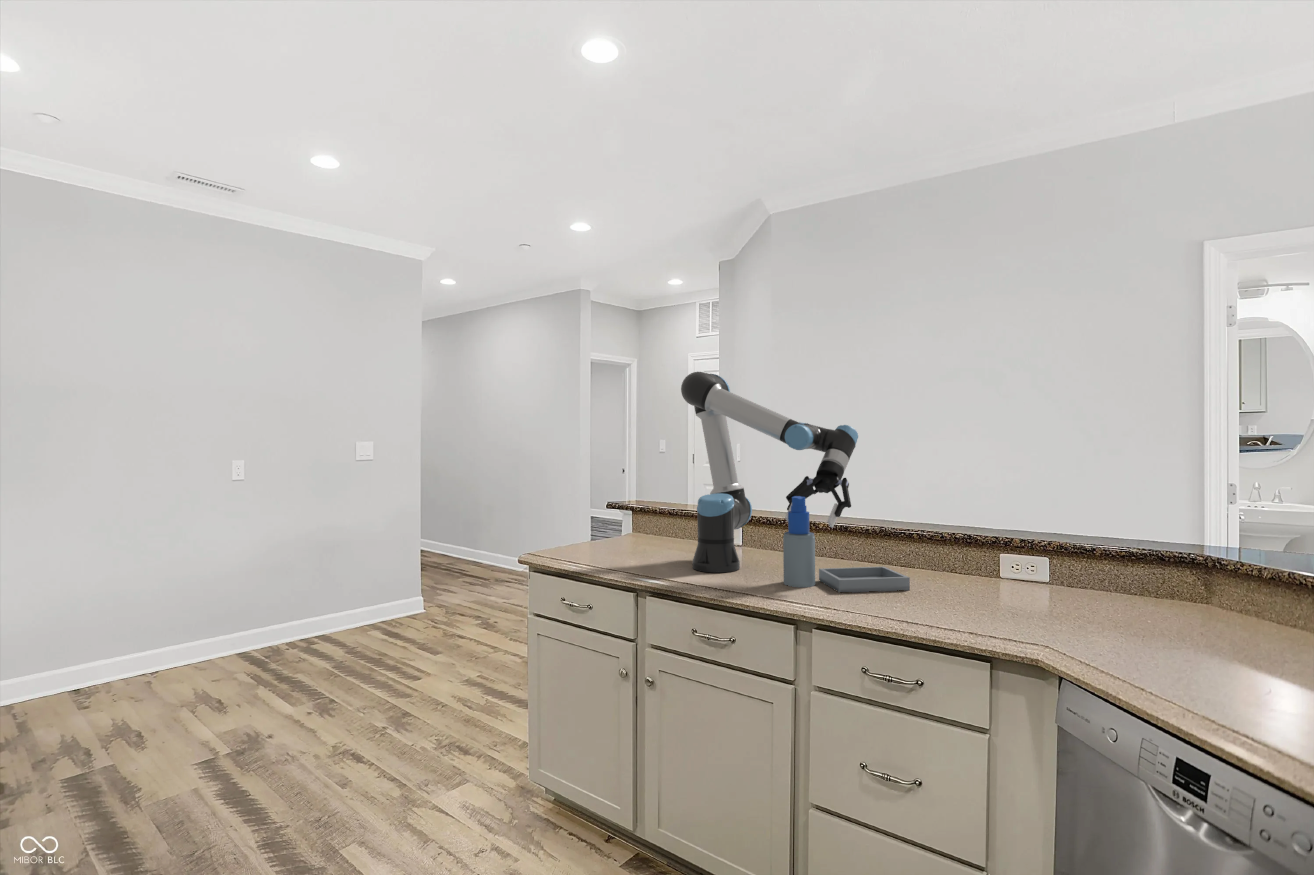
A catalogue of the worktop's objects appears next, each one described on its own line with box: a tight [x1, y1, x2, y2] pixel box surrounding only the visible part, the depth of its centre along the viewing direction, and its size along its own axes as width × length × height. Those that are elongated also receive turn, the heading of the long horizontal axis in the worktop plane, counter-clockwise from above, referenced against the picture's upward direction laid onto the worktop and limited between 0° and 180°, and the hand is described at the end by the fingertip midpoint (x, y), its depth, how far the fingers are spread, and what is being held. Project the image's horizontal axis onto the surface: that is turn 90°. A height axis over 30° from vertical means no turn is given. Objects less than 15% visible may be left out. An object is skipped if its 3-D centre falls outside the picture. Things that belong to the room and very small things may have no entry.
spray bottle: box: [782, 496, 816, 588], centre depth 185 cm, size 9×9×25 cm
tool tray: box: [818, 566, 911, 593], centre depth 183 cm, size 15×20×4 cm
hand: (808, 522), depth 187 cm, fingers open, 13 cm apart
